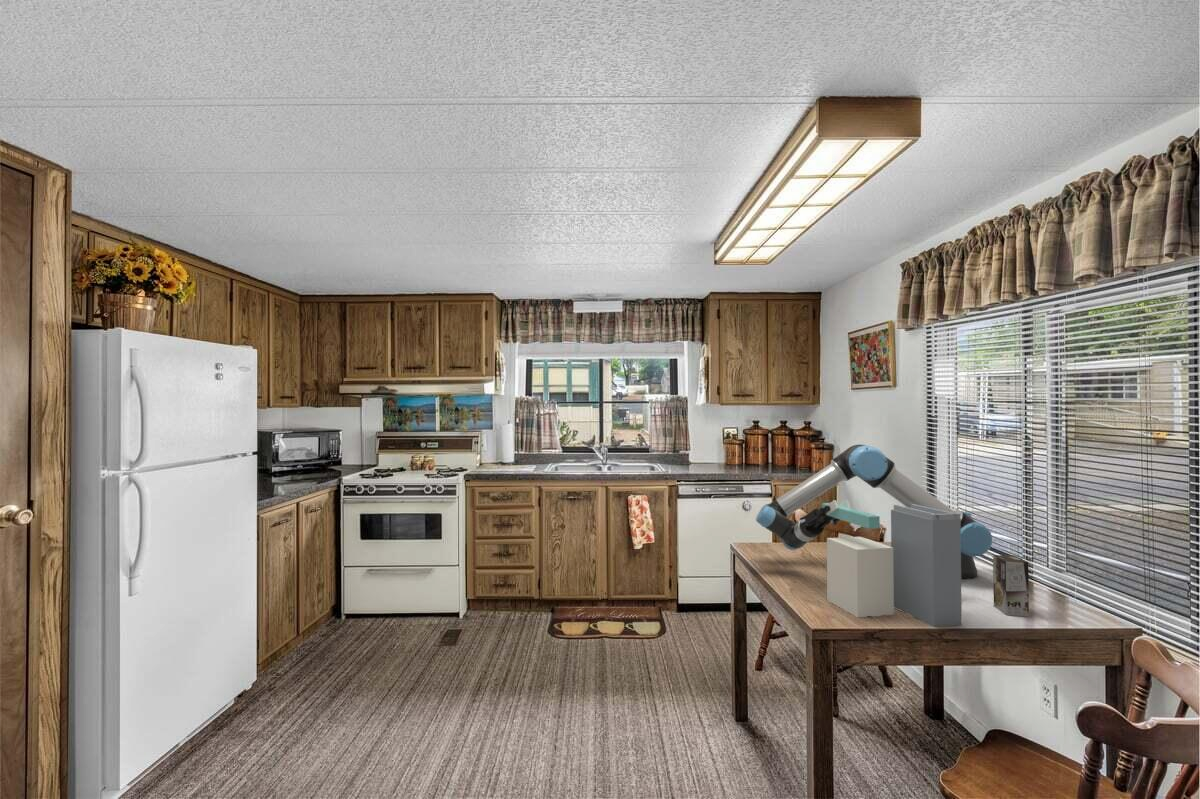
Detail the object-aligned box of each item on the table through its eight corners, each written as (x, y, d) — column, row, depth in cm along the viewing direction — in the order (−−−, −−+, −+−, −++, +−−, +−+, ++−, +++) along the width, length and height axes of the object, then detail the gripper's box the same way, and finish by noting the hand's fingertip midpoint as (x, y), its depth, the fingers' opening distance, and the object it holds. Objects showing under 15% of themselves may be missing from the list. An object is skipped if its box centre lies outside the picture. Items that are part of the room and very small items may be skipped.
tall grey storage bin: (917, 604, 191) (916, 504, 192) (961, 624, 174) (960, 513, 174) (891, 606, 190) (890, 504, 190) (933, 626, 172) (932, 514, 172)
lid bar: (831, 513, 206) (831, 503, 206) (879, 528, 181) (879, 516, 181) (821, 513, 205) (821, 503, 205) (868, 528, 180) (868, 516, 180)
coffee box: (1030, 617, 180) (1029, 562, 180) (1005, 615, 181) (1005, 561, 182) (1015, 607, 189) (1015, 554, 189) (992, 605, 190) (992, 553, 190)
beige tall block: (861, 598, 198) (860, 536, 198) (893, 614, 182) (893, 547, 182) (827, 600, 195) (826, 538, 196) (857, 617, 180) (857, 549, 180)
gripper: (833, 537, 216) (868, 514, 197) (790, 539, 213) (821, 515, 193) (827, 517, 220) (861, 492, 200) (784, 518, 217) (815, 493, 197)
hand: (842, 503), depth 197 cm, fingers closed on lid bar, 3 cm apart
